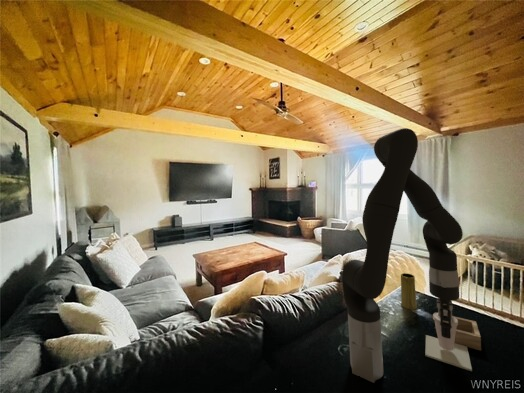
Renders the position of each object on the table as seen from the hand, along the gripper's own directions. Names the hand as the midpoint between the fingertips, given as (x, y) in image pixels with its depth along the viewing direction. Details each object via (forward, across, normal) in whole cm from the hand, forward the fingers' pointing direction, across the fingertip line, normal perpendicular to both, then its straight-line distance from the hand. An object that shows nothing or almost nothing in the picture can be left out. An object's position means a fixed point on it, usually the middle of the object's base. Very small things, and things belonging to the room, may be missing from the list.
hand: (445, 331), depth 72 cm
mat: (+7, 0, 0) cm, 7 cm away
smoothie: (+5, 0, 0) cm, 5 cm away
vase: (+7, -26, -12) cm, 29 cm away
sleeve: (+7, -12, +4) cm, 14 cm away
